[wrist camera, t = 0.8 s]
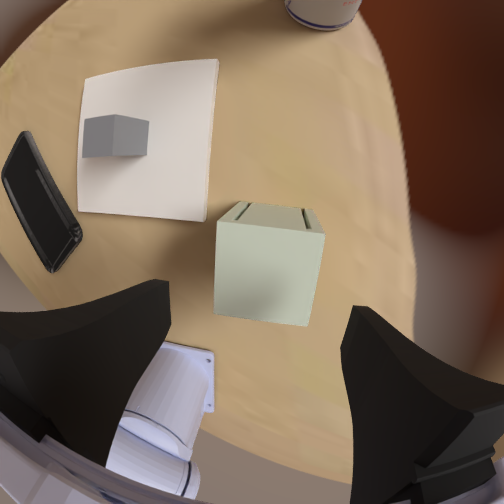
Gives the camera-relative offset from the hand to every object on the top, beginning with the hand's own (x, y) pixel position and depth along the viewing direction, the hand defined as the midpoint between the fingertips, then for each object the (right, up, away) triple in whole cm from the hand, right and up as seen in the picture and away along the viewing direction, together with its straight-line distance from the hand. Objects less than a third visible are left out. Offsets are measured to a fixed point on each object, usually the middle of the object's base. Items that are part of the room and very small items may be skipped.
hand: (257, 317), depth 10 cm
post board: (-9, +11, +8) cm, 17 cm away
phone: (-23, +8, +12) cm, 27 cm away
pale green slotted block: (+1, +3, +10) cm, 10 cm away
